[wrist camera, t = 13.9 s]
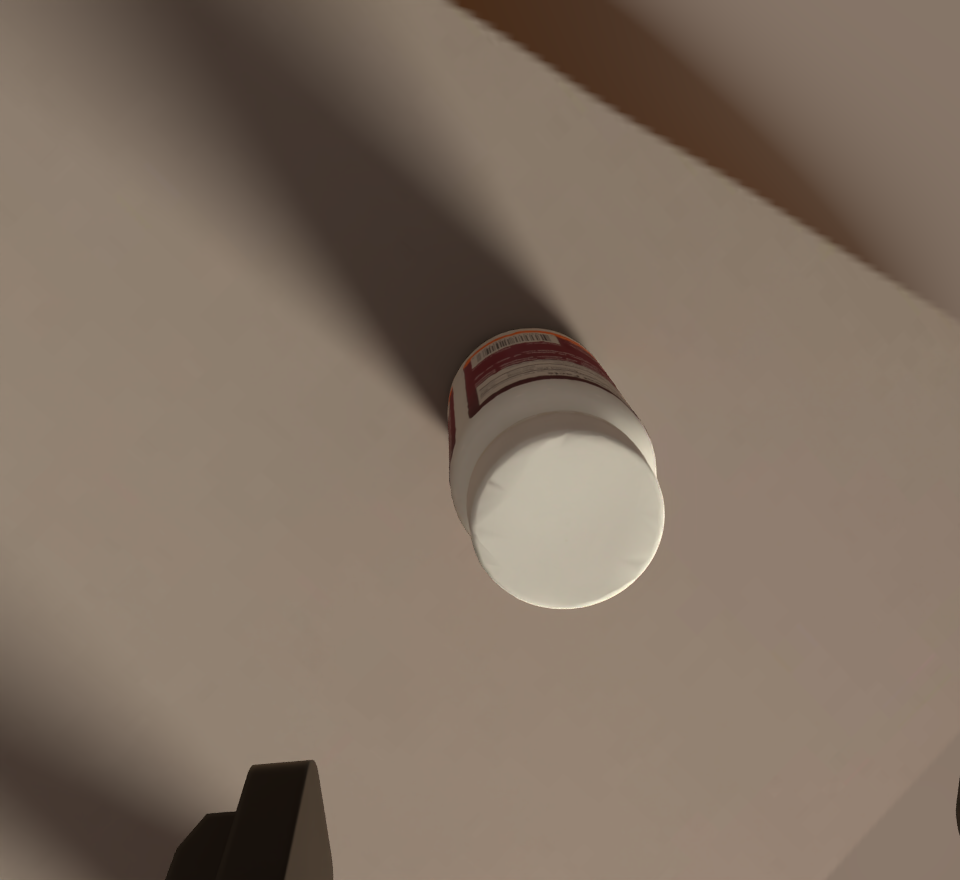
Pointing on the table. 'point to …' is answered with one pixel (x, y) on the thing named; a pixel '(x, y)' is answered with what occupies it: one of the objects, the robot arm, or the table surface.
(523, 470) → the pill bottle
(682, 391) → the table surface
